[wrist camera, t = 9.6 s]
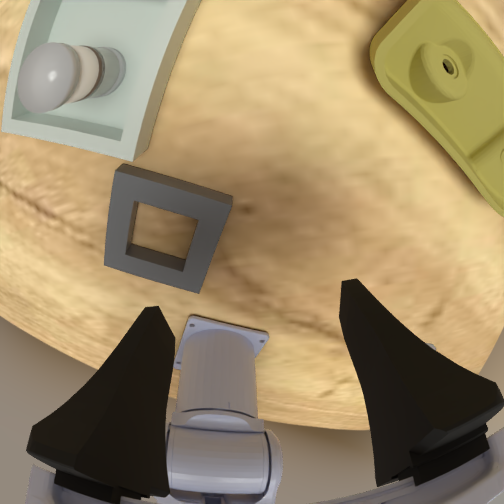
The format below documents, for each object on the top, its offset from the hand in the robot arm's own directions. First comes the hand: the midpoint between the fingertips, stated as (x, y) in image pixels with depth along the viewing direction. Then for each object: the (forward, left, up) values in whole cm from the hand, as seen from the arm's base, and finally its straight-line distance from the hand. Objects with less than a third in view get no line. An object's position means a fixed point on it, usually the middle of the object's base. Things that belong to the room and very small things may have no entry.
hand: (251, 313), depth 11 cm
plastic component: (+15, -13, -11) cm, 22 cm away
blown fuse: (+6, +12, -10) cm, 17 cm away
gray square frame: (-4, +5, -10) cm, 12 cm away
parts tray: (+7, +13, -10) cm, 18 cm away
